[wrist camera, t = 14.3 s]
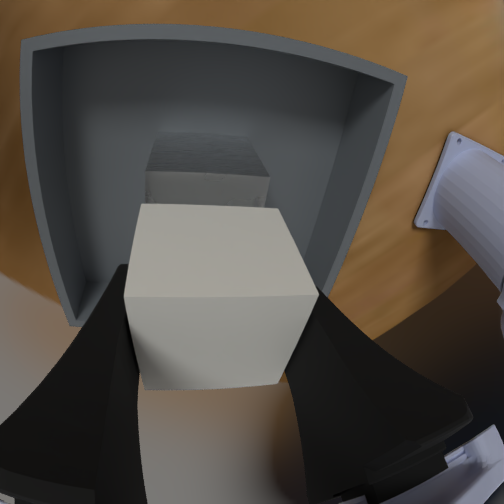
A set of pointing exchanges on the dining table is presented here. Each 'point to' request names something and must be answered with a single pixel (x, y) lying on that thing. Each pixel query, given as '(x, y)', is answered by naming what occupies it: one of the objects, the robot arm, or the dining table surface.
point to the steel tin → (205, 171)
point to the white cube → (215, 296)
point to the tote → (194, 121)
